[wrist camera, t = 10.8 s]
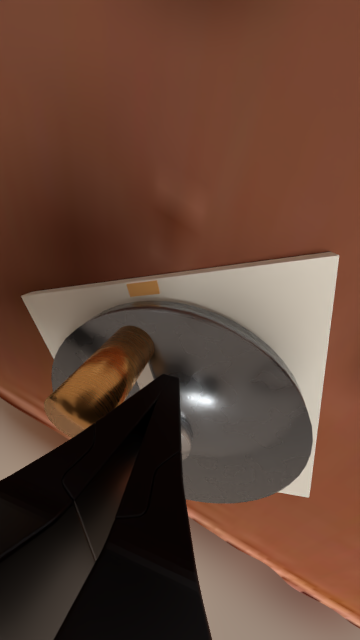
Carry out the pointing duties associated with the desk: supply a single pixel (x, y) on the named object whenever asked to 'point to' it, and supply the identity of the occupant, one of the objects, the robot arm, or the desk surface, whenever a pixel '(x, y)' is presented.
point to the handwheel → (191, 394)
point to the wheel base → (225, 314)
